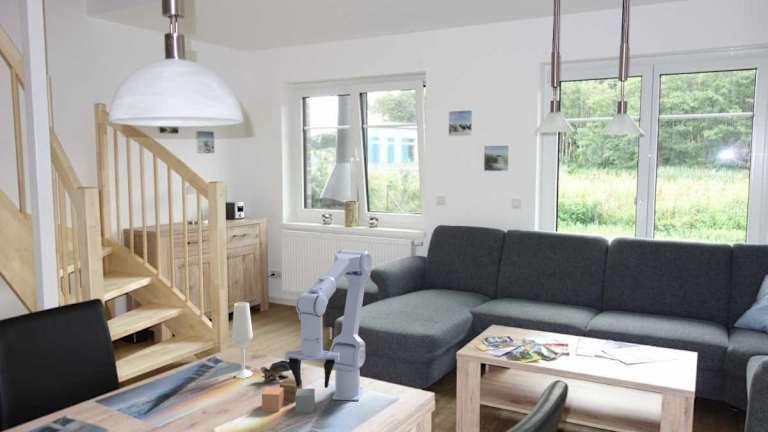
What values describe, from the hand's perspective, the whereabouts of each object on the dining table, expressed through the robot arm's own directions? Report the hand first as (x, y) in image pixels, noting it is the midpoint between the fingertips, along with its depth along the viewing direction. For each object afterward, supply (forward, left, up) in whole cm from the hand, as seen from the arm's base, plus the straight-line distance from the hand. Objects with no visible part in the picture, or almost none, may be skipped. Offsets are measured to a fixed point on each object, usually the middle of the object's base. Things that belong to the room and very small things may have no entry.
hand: (312, 385), depth 161 cm
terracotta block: (-8, -14, -10) cm, 19 cm away
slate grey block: (-8, -4, -10) cm, 14 cm away
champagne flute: (-32, -31, -10) cm, 45 cm away
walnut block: (-15, -10, -10) cm, 21 cm away
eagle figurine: (-28, -18, -10) cm, 35 cm away
